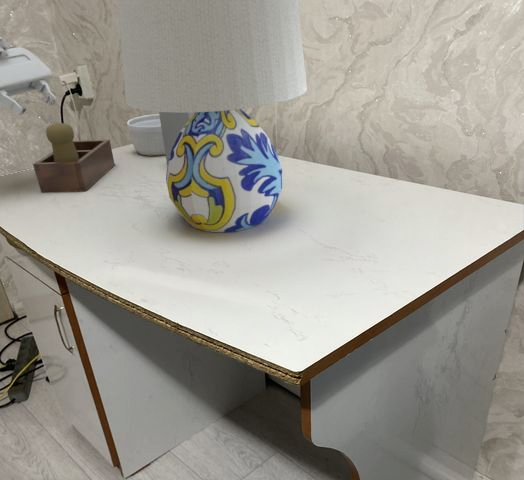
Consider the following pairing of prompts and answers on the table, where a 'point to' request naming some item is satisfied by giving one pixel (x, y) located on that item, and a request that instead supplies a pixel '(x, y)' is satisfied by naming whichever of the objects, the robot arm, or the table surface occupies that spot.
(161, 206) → the table surface
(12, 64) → the robot arm
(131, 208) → the table surface
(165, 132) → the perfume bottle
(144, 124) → the ramekin
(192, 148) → the table lamp
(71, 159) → the cork
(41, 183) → the wooden box
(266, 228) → the table surface
